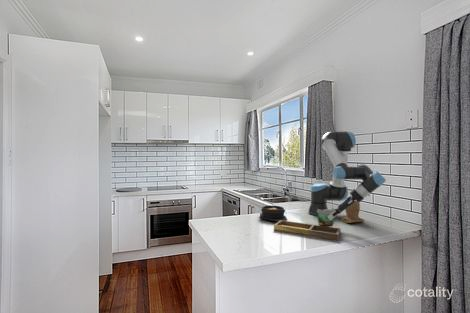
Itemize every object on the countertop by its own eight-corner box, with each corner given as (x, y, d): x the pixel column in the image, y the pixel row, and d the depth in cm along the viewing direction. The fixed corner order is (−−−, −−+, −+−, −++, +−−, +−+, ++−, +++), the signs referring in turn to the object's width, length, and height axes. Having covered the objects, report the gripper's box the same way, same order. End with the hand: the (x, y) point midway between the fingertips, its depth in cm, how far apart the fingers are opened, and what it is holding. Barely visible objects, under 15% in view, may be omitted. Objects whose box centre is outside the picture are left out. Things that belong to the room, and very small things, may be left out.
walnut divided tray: (280, 225, 162) (280, 220, 162) (340, 234, 145) (340, 228, 145) (273, 230, 151) (273, 224, 151) (337, 241, 134) (337, 234, 134)
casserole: (294, 222, 170) (294, 210, 170) (269, 225, 163) (269, 212, 163) (276, 214, 193) (276, 203, 193) (253, 216, 187) (253, 204, 187)
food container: (323, 228, 149) (323, 211, 149) (316, 225, 155) (316, 208, 154) (339, 226, 153) (340, 209, 153) (332, 223, 159) (333, 207, 158)
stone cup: (352, 218, 183) (352, 198, 183) (366, 222, 172) (367, 200, 172) (336, 220, 177) (336, 199, 177) (350, 225, 166) (350, 202, 166)
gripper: (364, 201, 136) (332, 226, 144) (365, 195, 155) (336, 217, 163) (353, 190, 138) (322, 215, 146) (355, 186, 157) (328, 208, 165)
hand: (330, 216), depth 154 cm, fingers closed on food container, 9 cm apart
